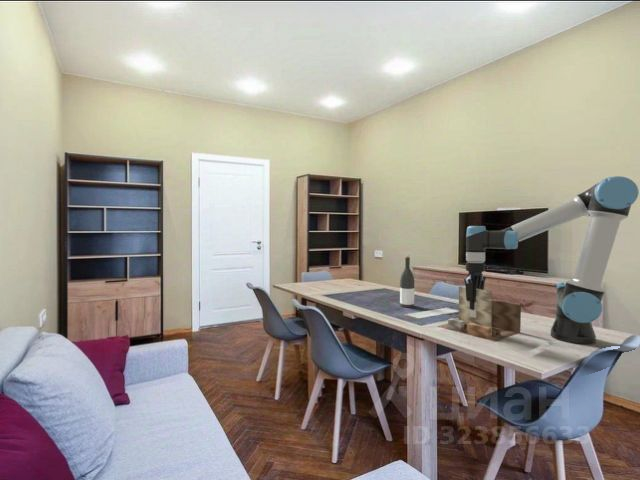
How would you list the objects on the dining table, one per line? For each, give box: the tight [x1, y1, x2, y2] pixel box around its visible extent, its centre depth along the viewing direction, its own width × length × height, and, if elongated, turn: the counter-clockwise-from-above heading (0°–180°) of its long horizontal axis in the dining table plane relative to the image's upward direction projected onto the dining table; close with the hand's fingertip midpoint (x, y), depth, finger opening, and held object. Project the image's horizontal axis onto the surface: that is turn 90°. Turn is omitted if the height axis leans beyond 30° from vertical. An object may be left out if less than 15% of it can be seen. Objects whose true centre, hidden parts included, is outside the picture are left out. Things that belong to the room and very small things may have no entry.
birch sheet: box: [458, 285, 493, 327], centre depth 148 cm, size 14×2×18 cm, turn 36°
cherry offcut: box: [467, 323, 492, 339], centre depth 141 cm, size 9×3×4 cm, turn 36°
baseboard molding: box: [403, 305, 459, 320], centre depth 184 cm, size 31×3×12 cm
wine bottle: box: [399, 254, 415, 308], centre depth 202 cm, size 8×8×30 cm
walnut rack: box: [437, 298, 522, 343], centre depth 150 cm, size 26×21×14 cm
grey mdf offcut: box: [447, 317, 464, 331], centre depth 150 cm, size 6×3×4 cm, turn 36°
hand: (474, 316), depth 148 cm, fingers closed on birch sheet, 2 cm apart
